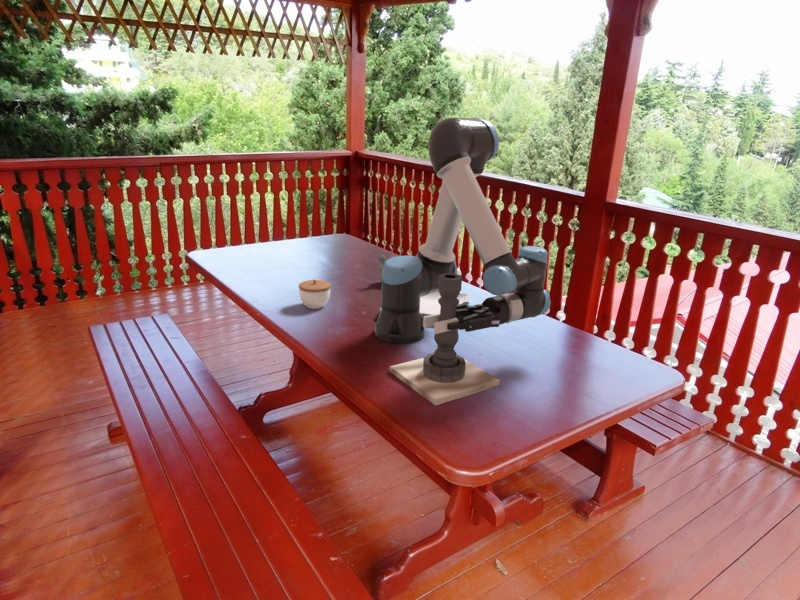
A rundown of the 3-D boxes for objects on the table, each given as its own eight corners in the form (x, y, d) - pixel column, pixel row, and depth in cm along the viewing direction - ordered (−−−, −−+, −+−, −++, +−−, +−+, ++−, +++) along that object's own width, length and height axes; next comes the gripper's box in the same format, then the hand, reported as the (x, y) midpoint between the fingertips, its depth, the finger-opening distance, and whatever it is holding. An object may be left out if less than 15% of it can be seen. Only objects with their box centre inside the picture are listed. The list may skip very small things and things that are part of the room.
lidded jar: (335, 308, 186) (335, 282, 183) (305, 313, 181) (305, 286, 177) (323, 299, 194) (323, 273, 191) (294, 303, 189) (294, 277, 186)
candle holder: (454, 365, 142) (461, 273, 134) (457, 376, 136) (465, 280, 128) (431, 365, 141) (436, 272, 133) (433, 376, 136) (438, 280, 127)
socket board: (389, 371, 142) (390, 354, 140) (450, 355, 153) (451, 339, 151) (435, 405, 126) (436, 386, 125) (499, 385, 137) (501, 367, 135)
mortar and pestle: (396, 278, 221) (397, 249, 217) (409, 284, 214) (410, 255, 210) (372, 282, 216) (373, 252, 212) (384, 288, 208) (385, 258, 204)
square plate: (461, 329, 173) (462, 317, 172) (378, 320, 178) (378, 309, 176) (468, 302, 198) (469, 292, 197) (395, 294, 203) (395, 284, 202)
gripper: (522, 333, 138) (450, 352, 126) (479, 313, 152) (409, 328, 139) (526, 305, 136) (452, 321, 124) (481, 287, 149) (410, 300, 137)
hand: (429, 325), depth 131 cm, fingers closed on candle holder, 4 cm apart
